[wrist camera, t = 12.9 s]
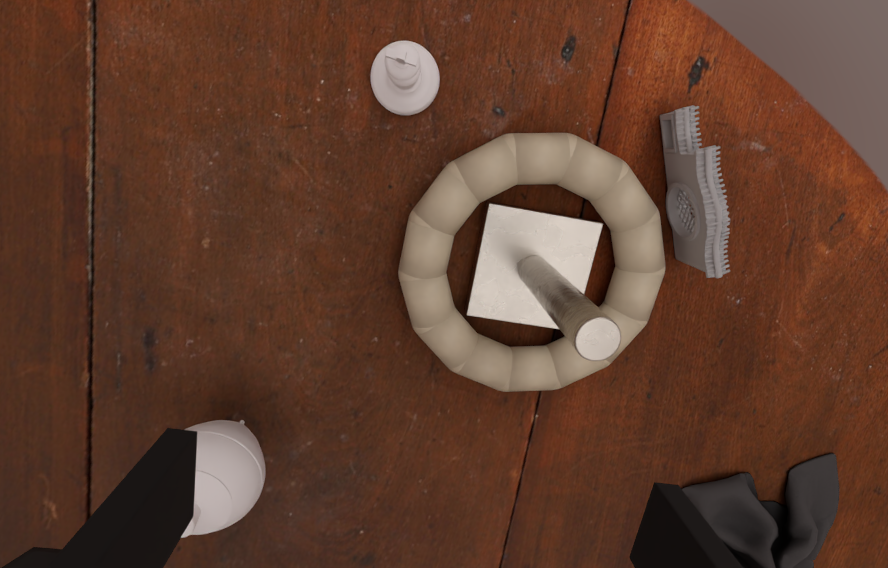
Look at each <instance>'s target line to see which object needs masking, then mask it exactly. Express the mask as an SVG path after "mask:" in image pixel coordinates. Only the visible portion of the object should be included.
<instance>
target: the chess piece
mask: <svg viewBox="0 0 888 568" xmlns="http://www.w3.org/2000/svg"><path fill="white" fill-rule="evenodd" d="M370 78H371V86H372V90H373V92H374V95H375V96H376V98H377V100H378V101H379V102H380V104H381V105H382V106H383V107H385V108H386V109H387V110H389V111H391V112H393V113H395V114H399V115H413V114H416V113H419V112H421V111H423V110H424V109H426V108H427V107H428V106H429V105H430V104H431V103H432V101H433V100H434V98H435V97H436V94H437V92H438V88H439V81H440V78H439V70H438V67H437V64H436V62H435V60H434V58H433V57H432V55H431V54H430V53H429V52H428V51H427V50H426V49H425V48H424V47H422V46H421V45H419V44H417V43H414V42H411V41H397V42H393V43H391V44H389V45H387V46H386V47H384V48H383V49H382V50H381V51H380V52H379V53H378V55H377V56H376V58H375V60H374V62H373V65H372V68H371V77H370Z"/></svg>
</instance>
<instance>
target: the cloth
mask: <svg viewBox="0 0 888 568" xmlns="http://www.w3.org/2000/svg"><path fill="white" fill-rule="evenodd" d="M682 491H683V492H684V493H685V494H686V496H687V497H688V498H689V499H690V500H691V502H692V503H693V505H694V506H695V507H696V508H697V510H698V511H699V512H700V513H701V515H702V516H703V517H704V519H705V520H706V521H707V522H708V524H709V525H710V526H711V527H712V529H713V530H714V531H715V533H716V534H717V535H718V536H719V538H720V539H721V540H722V541H723V543H724V544H725V545H726V547H727V548H728V549H729V550H730V552H731V553H732V554H733V555H734V557H735V558H736V559H737V561H738V562H739V563H740V564H741V566H742V567H743V568H814V563H813V561H812V560H815V559H816V557H817V555H818V553H819V551H820V549H821V547H822V545H823V543H824V540H825V538H826V536H827V533H828V531H829V529H830V528H831V526H832V524H833V522H834V519H835V516H836V513H837V509H838V501H839V482H838V473H837V462H836V455H835V454H833V453H831V454H827V455H824V456H820V457H817V458H814V459H811V460H809V461H806V462H804V463H801V464H799V465H797V466H795V467H794V468H792V469H791V470H790V471H789V477H788V482H787V487H786V492H785V499H786V504H787V507H783V506H781V505H780V504H778V503H776V502H773V501H759V500H758V497H757V492H756V489H755V485H754V480H753V478H752V476H751V475H750V474H749V473H745V474H741V473H740V474H737V475H735V476H732V477H730V478H727V479H723V480H719V481H715V482H707V483H702V484H696V485H691V486H688V487H685V488H683V489H682Z"/></svg>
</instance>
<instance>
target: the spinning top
mask: <svg viewBox="0 0 888 568" xmlns="http://www.w3.org/2000/svg"><path fill="white" fill-rule="evenodd" d="M244 423H245V421H243V420H241V421H240V423H239V422H236V421H228V420H215V421H209V422H205V423H201V424H197V425H194V426H191V427H189V428H187V429H184V430H189V431H197V451H196V472H195V494H194V515H193V518H192V520H191V521H190V523H189V525H188V526H187V528H186V530H185V531H184V533H183V535H182V536H181V538H184V537H187V536H189V535H190V534H191V535H201V534H207V533H210V532H215V531H218V530H221V529H224V528H226V527H228V526H230V525H232V524H234V523H236V522H237V521H239V520H240V519H241V518H243V517H244V516H245V515H246V514H247V513H248V512H249V511H250V510H251V509H252V507H253V506H254V504H255V503H256V502H257V500H258V498H259V496H260V494H261V492H262V488H263V484H264V480H265V462H264V457H263V454H262V450H261V448H260V445H259V442H258V440H257V439H256V437H255V436H254V435H253V433H252V432H251V431H250V430H249V429H248V428H247V427H246V426H245V425H244Z"/></svg>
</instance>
